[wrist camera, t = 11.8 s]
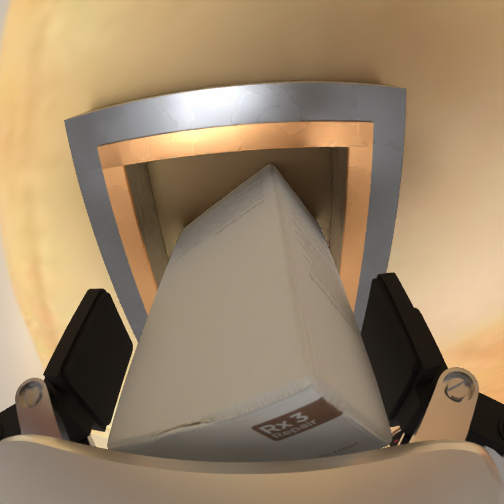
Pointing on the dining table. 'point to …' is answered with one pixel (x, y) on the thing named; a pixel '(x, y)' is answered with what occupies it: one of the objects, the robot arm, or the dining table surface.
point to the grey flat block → (240, 139)
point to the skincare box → (251, 343)
